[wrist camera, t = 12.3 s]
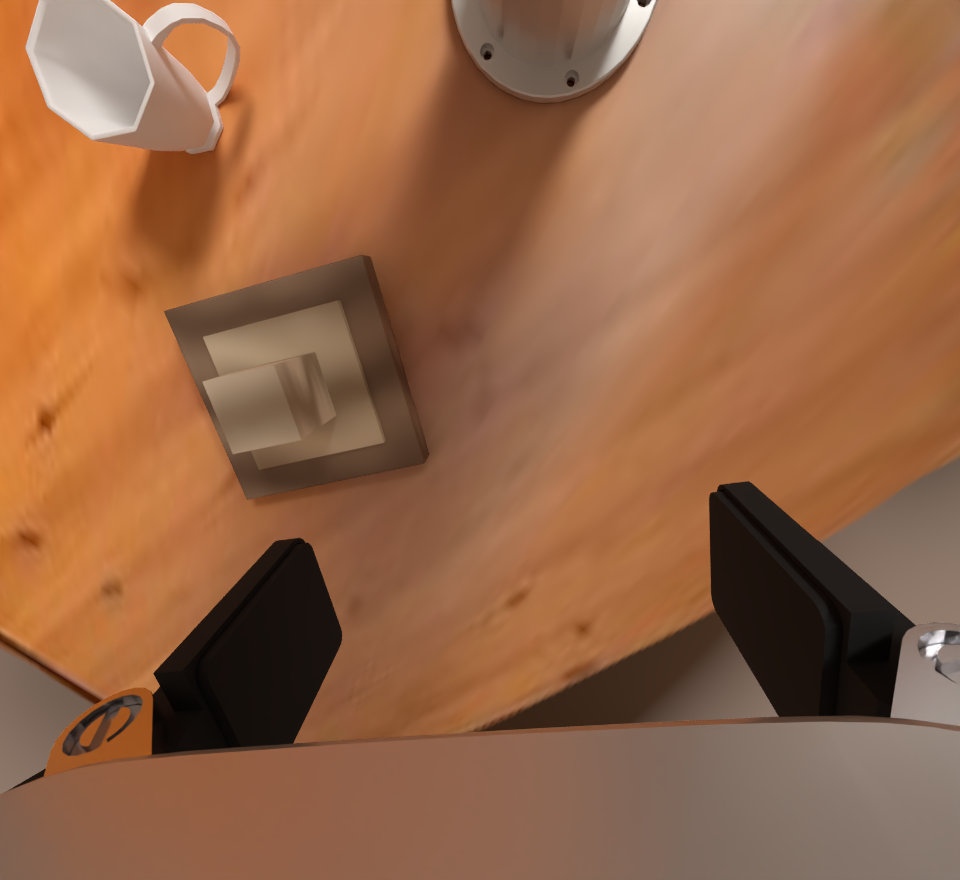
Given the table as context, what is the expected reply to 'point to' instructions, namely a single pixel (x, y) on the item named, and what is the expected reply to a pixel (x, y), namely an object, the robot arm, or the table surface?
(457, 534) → the table surface
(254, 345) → the base
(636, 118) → the table surface
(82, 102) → the cup
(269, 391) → the oak block
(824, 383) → the table surface
